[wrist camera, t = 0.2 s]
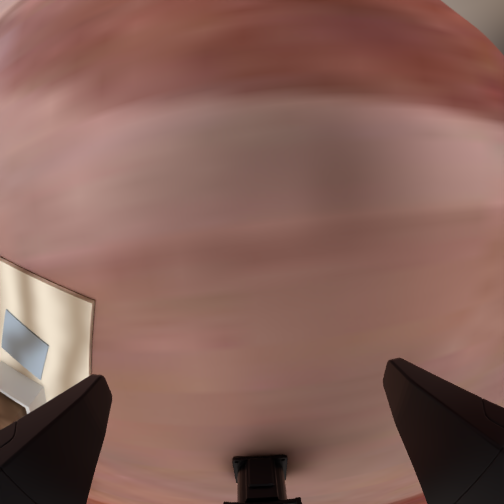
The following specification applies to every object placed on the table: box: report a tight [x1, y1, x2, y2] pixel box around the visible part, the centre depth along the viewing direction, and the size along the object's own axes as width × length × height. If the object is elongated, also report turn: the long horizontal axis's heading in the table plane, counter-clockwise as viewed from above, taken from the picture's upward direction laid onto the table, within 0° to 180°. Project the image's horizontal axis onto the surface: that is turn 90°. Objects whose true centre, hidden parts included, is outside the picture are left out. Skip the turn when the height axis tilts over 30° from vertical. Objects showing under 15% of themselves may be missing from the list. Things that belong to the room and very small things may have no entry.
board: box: [0, 257, 95, 402], centre depth 25 cm, size 18×28×1 cm, turn 161°
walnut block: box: [0, 392, 27, 430], centre depth 20 cm, size 4×4×13 cm
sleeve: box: [0, 361, 46, 414], centre depth 24 cm, size 7×7×4 cm
